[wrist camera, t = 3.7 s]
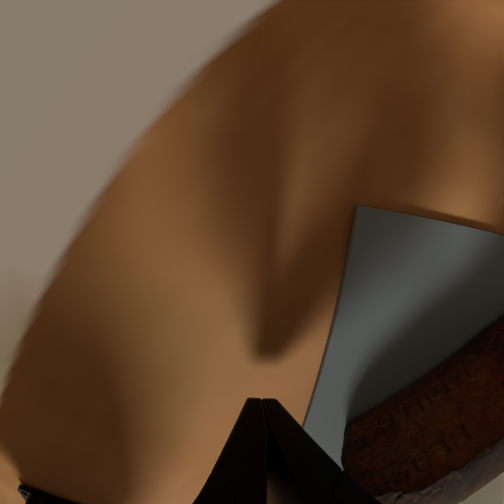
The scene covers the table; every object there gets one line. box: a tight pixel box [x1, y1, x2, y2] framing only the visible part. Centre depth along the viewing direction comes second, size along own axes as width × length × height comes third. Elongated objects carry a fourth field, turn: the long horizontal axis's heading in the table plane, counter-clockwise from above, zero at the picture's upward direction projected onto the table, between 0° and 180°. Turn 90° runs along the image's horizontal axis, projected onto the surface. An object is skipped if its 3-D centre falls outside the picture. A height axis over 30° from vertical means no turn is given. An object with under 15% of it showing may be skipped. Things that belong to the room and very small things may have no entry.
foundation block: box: [459, 472, 504, 504], centre depth 12 cm, size 10×5×4 cm, turn 83°
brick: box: [341, 315, 504, 504], centre depth 8 cm, size 11×4×5 cm, turn 121°
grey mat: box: [302, 205, 504, 471], centre depth 12 cm, size 22×20×1 cm
